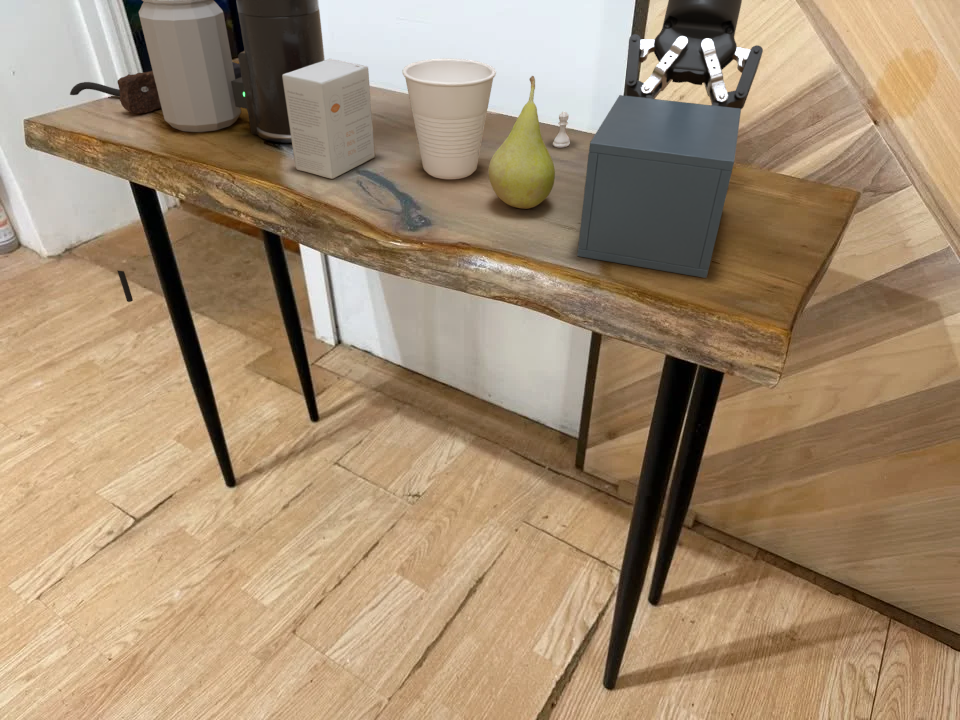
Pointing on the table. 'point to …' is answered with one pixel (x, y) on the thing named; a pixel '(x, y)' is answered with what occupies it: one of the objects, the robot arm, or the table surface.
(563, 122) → the chess pawn
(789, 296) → the table surface
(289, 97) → the small box
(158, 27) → the jar
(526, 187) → the fruit
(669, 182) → the cabinet
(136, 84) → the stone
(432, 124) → the cup
